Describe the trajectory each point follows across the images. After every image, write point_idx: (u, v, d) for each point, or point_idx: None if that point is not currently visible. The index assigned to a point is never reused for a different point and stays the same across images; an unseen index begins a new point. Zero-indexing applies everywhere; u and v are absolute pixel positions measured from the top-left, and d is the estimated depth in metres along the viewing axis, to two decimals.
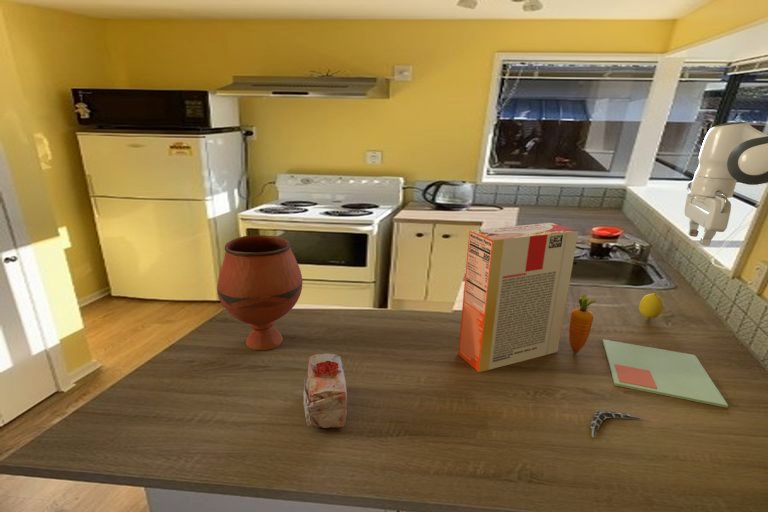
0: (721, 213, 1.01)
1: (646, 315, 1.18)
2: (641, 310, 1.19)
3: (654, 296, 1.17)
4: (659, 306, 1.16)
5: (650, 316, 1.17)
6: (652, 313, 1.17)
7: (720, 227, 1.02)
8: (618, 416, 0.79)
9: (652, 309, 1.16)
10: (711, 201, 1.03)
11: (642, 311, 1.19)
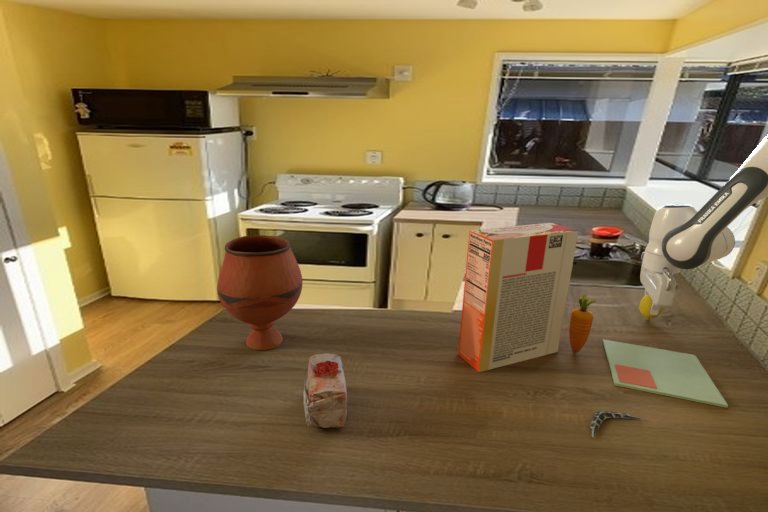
0: (667, 291, 1.07)
1: (646, 315, 1.18)
2: (641, 310, 1.19)
3: None
4: None
5: (650, 316, 1.17)
6: None
7: (666, 304, 1.08)
8: (618, 416, 0.79)
9: None
10: (658, 278, 1.10)
11: (642, 311, 1.19)
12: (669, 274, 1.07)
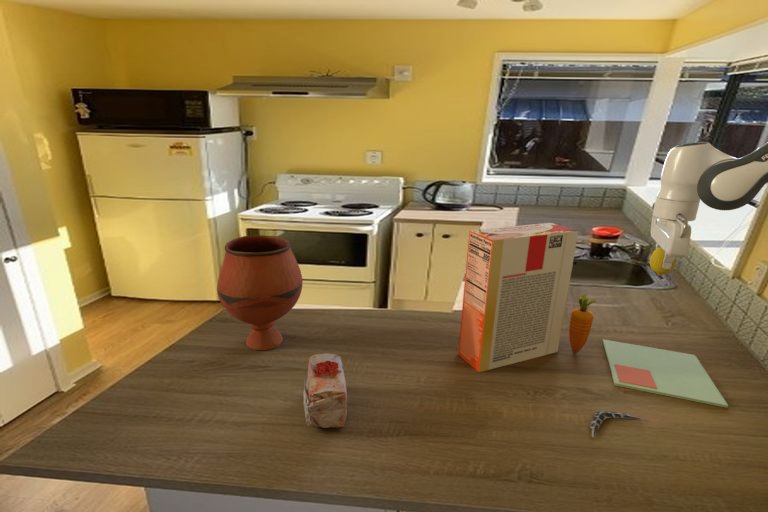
0: (681, 238, 0.96)
1: (657, 270, 1.07)
2: (652, 265, 1.07)
3: None
4: None
5: (662, 271, 1.06)
6: None
7: (680, 253, 0.97)
8: (618, 416, 0.79)
9: None
10: (671, 225, 0.98)
11: (653, 266, 1.07)
12: (684, 219, 0.95)
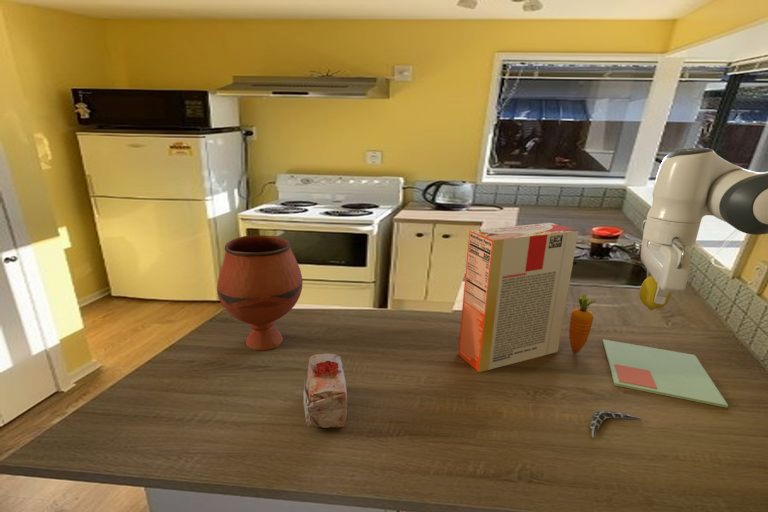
0: (678, 269, 0.77)
1: (648, 304, 0.87)
2: (642, 298, 0.88)
3: None
4: None
5: (654, 305, 0.87)
6: None
7: (676, 287, 0.77)
8: (618, 416, 0.79)
9: None
10: (666, 252, 0.79)
11: (643, 299, 0.88)
12: (681, 245, 0.76)
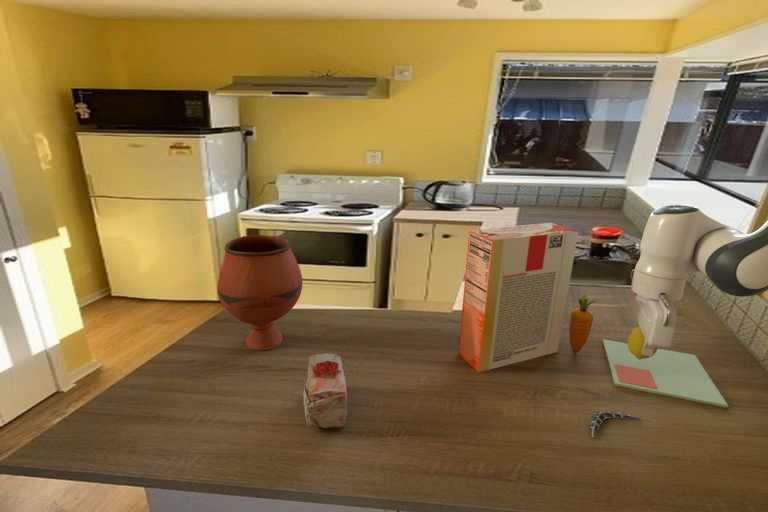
0: (664, 327, 0.78)
1: (636, 354, 0.88)
2: (630, 347, 0.89)
3: None
4: None
5: (642, 356, 0.88)
6: None
7: (663, 344, 0.78)
8: (618, 416, 0.79)
9: None
10: (652, 308, 0.80)
11: (631, 349, 0.89)
12: (667, 303, 0.77)
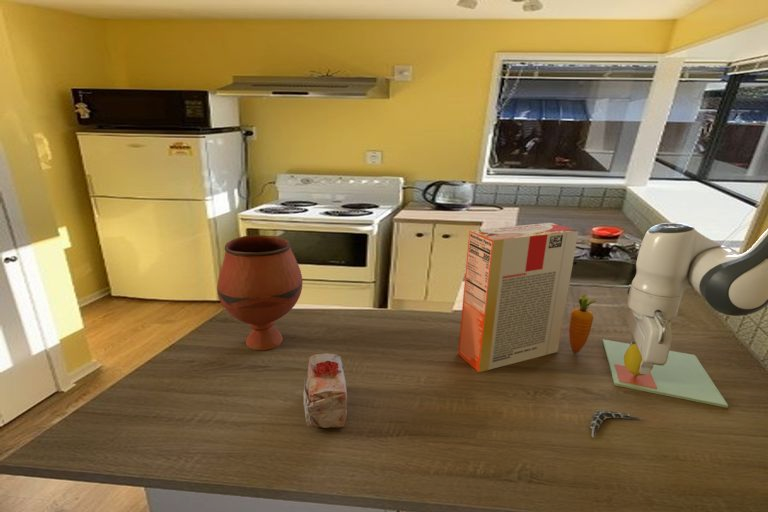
0: (659, 344, 0.79)
1: (632, 372, 0.90)
2: (626, 364, 0.91)
3: None
4: None
5: (638, 373, 0.89)
6: None
7: (658, 361, 0.80)
8: (618, 416, 0.79)
9: None
10: (648, 325, 0.81)
11: (627, 366, 0.90)
12: (662, 321, 0.78)
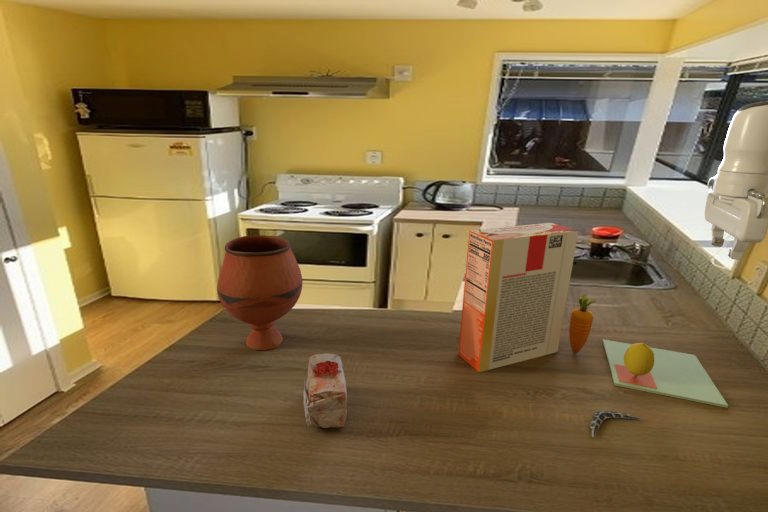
0: (758, 219, 0.78)
1: (632, 371, 0.90)
2: (626, 364, 0.91)
3: (642, 348, 0.88)
4: (650, 361, 0.88)
5: (638, 373, 0.89)
6: (641, 370, 0.88)
7: (756, 236, 0.78)
8: (618, 416, 0.79)
9: (640, 364, 0.88)
10: (743, 203, 0.80)
11: (627, 366, 0.90)
12: (761, 195, 0.77)
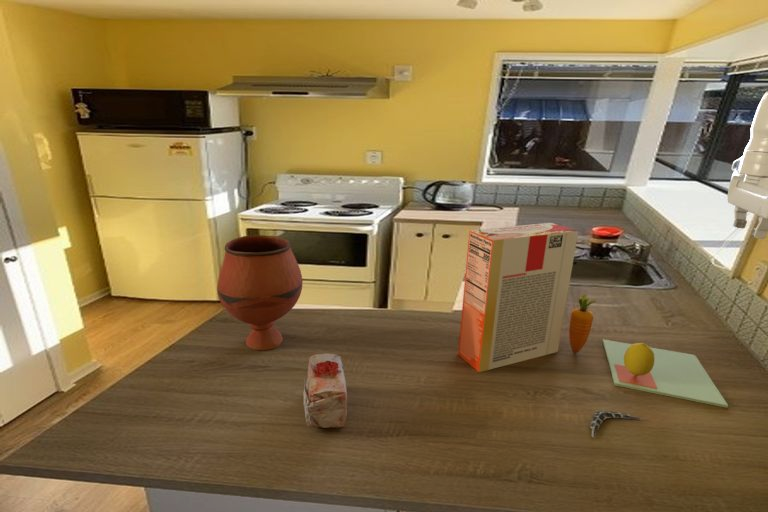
0: None
1: (632, 371, 0.90)
2: (626, 364, 0.91)
3: (642, 348, 0.88)
4: (650, 361, 0.88)
5: (638, 373, 0.89)
6: (641, 370, 0.88)
7: None
8: (618, 416, 0.79)
9: (640, 364, 0.88)
10: None
11: (627, 366, 0.90)
12: None
